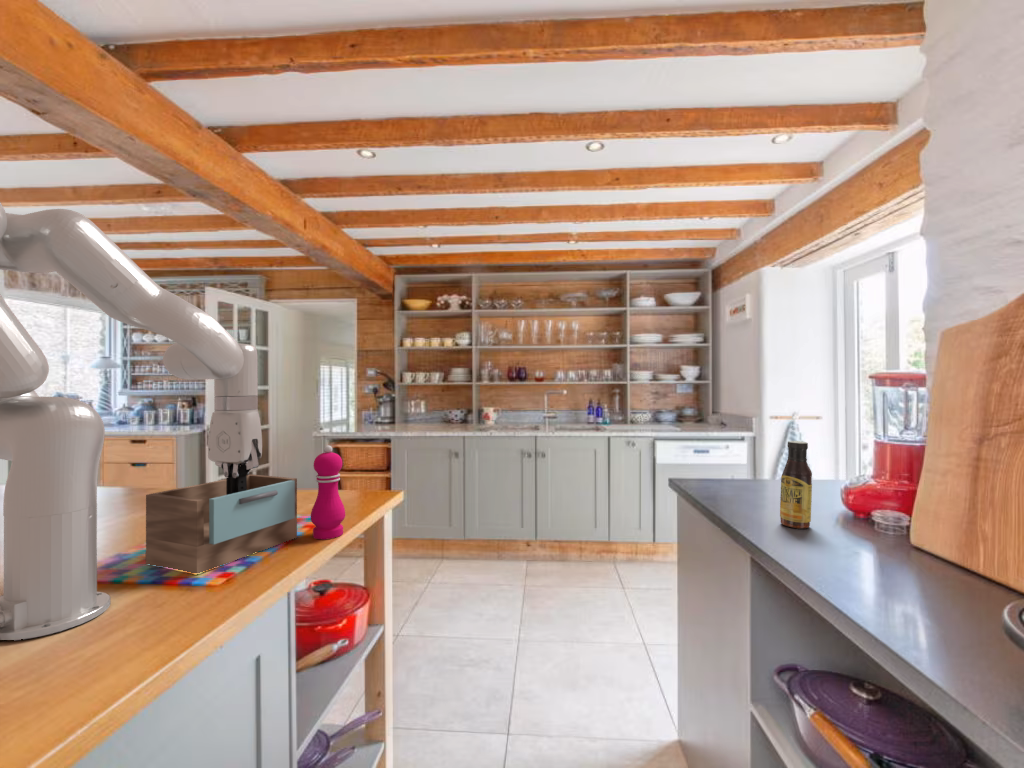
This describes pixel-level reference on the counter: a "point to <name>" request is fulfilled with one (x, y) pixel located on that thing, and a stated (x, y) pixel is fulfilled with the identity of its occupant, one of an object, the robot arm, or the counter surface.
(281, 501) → the panel
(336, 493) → the pepper mill
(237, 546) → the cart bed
